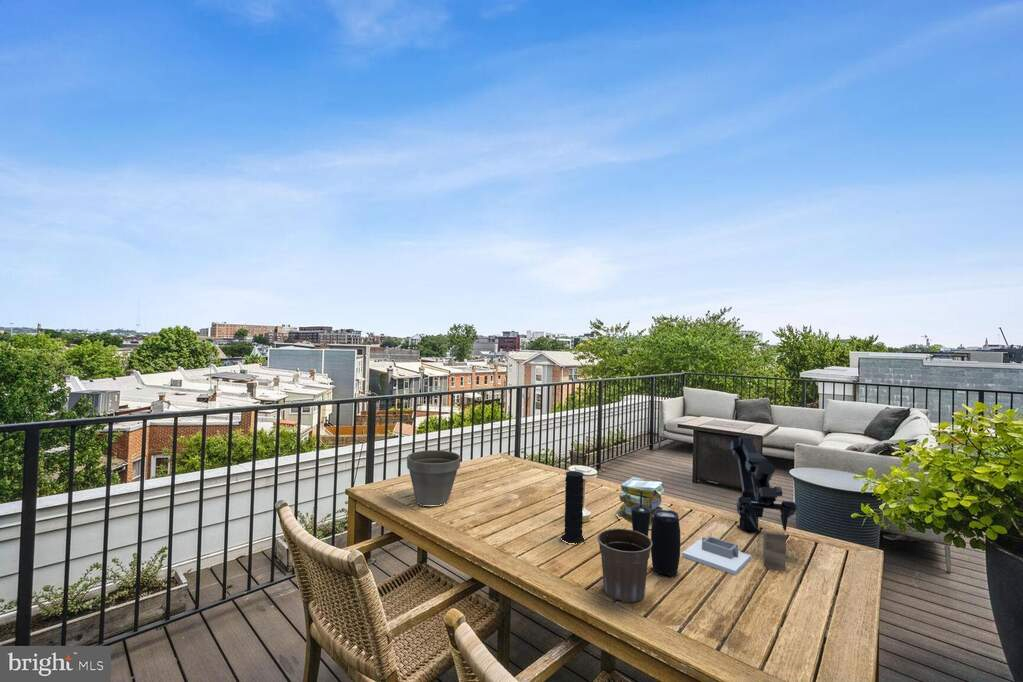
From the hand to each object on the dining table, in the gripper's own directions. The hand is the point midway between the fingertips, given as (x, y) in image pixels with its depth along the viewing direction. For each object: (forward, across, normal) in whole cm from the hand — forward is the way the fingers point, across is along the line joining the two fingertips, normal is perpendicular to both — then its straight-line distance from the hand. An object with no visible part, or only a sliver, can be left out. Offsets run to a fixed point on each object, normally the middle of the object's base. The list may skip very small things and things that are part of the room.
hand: (770, 528), depth 160 cm
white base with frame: (+10, -18, +6) cm, 22 cm away
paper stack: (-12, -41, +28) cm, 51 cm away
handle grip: (+10, -69, +7) cm, 70 cm away
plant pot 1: (-6, -137, +22) cm, 139 cm away
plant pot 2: (+33, -50, -16) cm, 62 cm away
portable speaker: (+21, -37, -4) cm, 42 cm away
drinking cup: (+8, -44, +9) cm, 46 cm away
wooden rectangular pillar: (+11, 0, +5) cm, 12 cm away
